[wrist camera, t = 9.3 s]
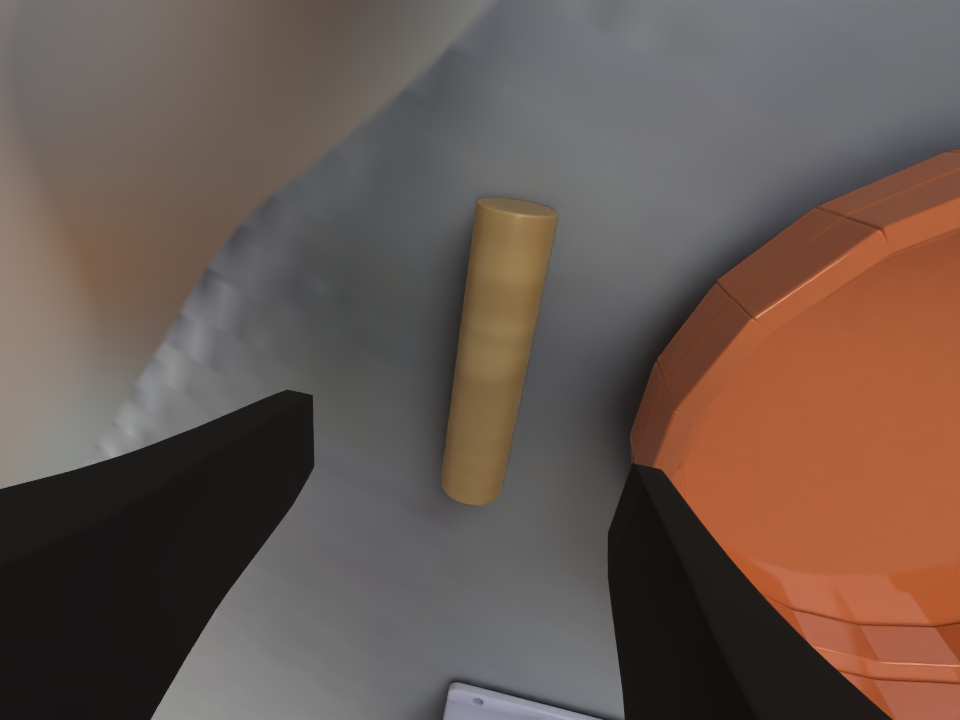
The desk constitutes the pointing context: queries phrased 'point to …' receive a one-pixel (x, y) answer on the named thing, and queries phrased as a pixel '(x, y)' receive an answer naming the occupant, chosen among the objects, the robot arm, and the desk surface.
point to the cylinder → (495, 343)
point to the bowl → (835, 431)
